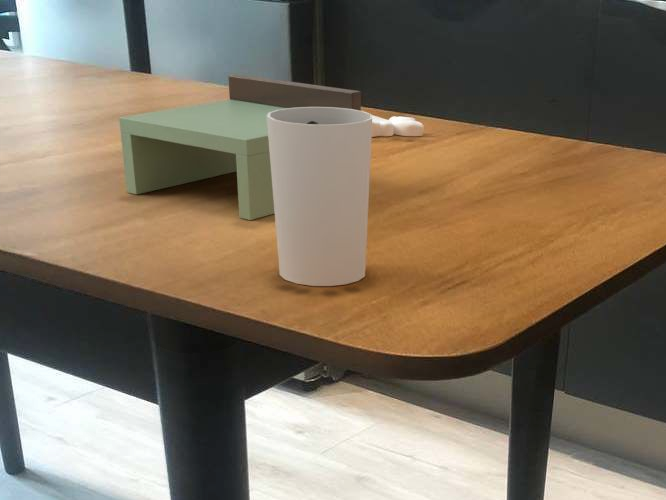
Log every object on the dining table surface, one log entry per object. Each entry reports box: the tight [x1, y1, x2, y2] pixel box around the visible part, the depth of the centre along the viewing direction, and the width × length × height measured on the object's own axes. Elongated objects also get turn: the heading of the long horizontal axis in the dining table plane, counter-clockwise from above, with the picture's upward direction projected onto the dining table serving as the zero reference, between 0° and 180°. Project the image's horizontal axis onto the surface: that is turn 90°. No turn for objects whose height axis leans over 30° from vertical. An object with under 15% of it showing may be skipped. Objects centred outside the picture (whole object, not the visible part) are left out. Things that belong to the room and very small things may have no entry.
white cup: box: [267, 107, 373, 287], centre depth 70 cm, size 7×7×10 cm
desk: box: [118, 73, 362, 221], centre depth 90 cm, size 14×14×8 cm
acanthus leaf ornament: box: [372, 114, 425, 138], centre depth 117 cm, size 8×7×2 cm
